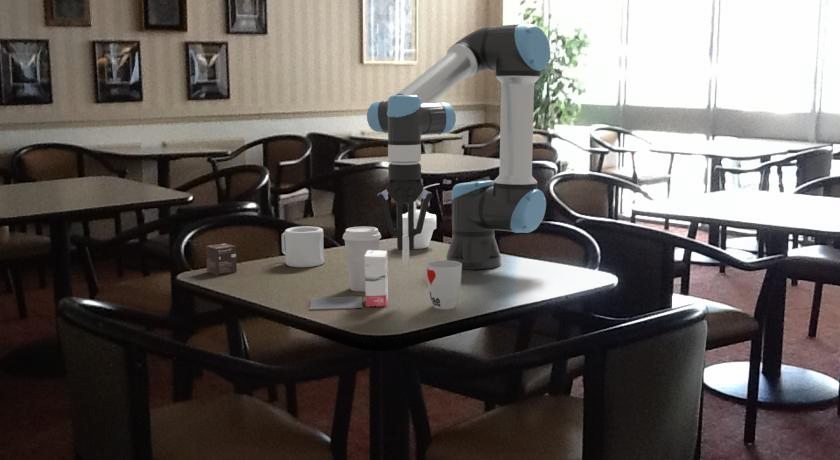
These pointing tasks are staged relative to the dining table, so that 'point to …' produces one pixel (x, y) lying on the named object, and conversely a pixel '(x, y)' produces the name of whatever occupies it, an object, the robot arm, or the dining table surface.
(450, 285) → the cup
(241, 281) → the dining table surface
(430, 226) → the potted plant
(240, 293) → the dining table surface
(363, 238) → the coffee cup
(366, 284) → the ink box
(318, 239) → the mug
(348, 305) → the mat
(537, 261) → the dining table surface
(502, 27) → the robot arm
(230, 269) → the box
